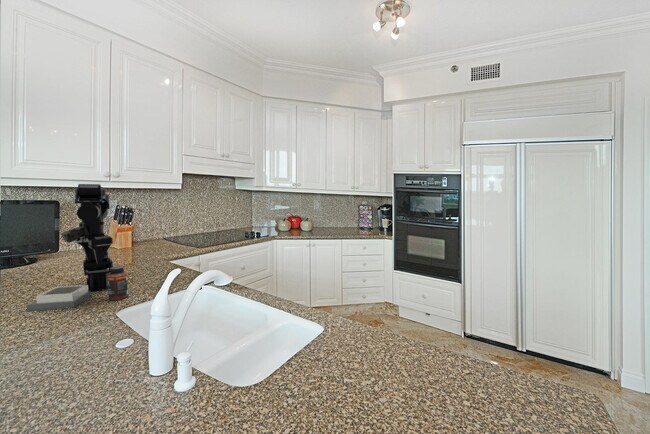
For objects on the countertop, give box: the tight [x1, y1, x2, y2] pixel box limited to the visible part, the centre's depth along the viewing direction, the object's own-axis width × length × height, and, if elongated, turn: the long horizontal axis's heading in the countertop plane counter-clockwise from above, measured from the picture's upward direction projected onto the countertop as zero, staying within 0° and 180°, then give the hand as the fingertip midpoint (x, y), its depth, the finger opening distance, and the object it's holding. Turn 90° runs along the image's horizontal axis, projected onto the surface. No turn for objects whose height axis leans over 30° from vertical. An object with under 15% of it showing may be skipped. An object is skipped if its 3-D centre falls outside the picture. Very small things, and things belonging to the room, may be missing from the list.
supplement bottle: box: [107, 265, 129, 301], centre depth 109 cm, size 6×6×11 cm
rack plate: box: [26, 284, 92, 312], centre depth 104 cm, size 13×11×4 cm
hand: (94, 262), depth 109 cm, fingers open, 9 cm apart
